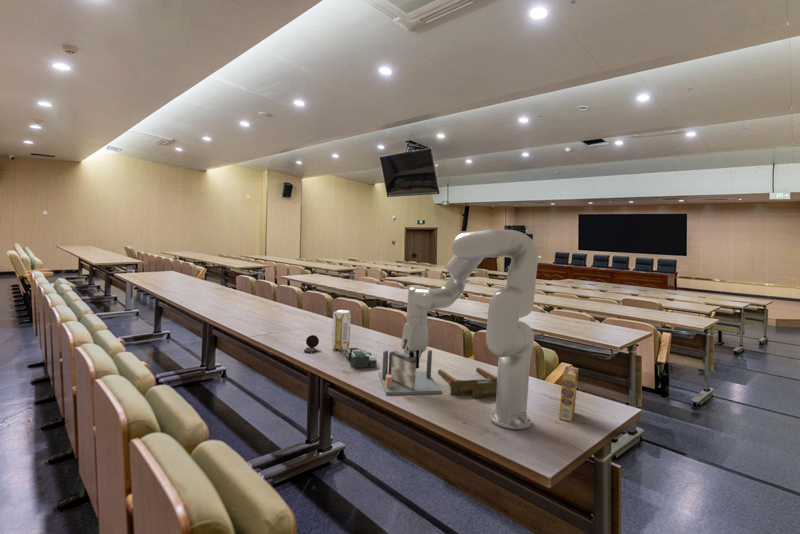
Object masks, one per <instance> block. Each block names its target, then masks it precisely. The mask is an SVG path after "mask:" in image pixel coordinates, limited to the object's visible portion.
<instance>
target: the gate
mask: <svg viewBox="0 0 800 534" xmlns="http://www.w3.org/2000/svg"><path fill="white" fill-rule="evenodd" d="M416 362H417V359H414V358H412V357H409V355H407V354H404V353H402V352H399V351H397V350H394V351H388V372H389V375H392V379H393V380H395V381H397V382H399V383H401V384H403V385H405V386H407V387H409V388H411V389H413V388H415V375H416V371H417V369H416Z"/></svg>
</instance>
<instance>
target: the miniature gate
mask: <svg viewBox="0 0 800 534" xmlns="http://www.w3.org/2000/svg"><path fill="white" fill-rule="evenodd" d="M475 369H476V370H475V371H476V373H477V372H478V373H477V374H479V375H480V376H482V377H483V378H481V379H479V378H478V379H466V380H462V379H456V378H454V377H453V376H452V375H450V374H448V373H447V372H445V371H444V370H443V369H438V370H437V374H438V375H439V376H440V377H441V379H443V380H445V382H448V386H450V395H451V396H457V395H468V394H469V395H470V394H472V399H473V398H474V399H478V398H479V399H481V398H493V397H494V398H496V388H497V375H494V374H492V373H490V372H489V371H486V370H484V369H482V368H481V367H476V368H475Z"/></svg>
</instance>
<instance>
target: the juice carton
mask: <svg viewBox="0 0 800 534" xmlns="http://www.w3.org/2000/svg"><path fill="white" fill-rule="evenodd" d="M332 315H333V316H332V332H331V333H332V336H331V337H332V338H331V339H332V340H331V345H332V346H331V347H332V350H333V349H338V350H337V351H341V350H345V349H346V348H347V349H348V348H349V347H350V342H351V341H350V340H351V320H352V319H351V311H350V310H346V309H338V310H336V311H333V314H332ZM347 349H346V350H347ZM346 350H345V351H346Z"/></svg>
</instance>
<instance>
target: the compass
mask: <svg viewBox="0 0 800 534" xmlns="http://www.w3.org/2000/svg"><path fill="white" fill-rule="evenodd" d="M305 340H306V341H305V342H306V343H305V344H306V345H307V347H306V348H304V350H303V352H305V353H306V352H308V353H307V354H312V353H311V352H315V353H317V352H319V351H322V350H321V349H317V348H316V347H317V346H318V345H319V342H320V340H319V337H318V336H316V335H314V334H311V335H309V336H307V338H306V339H305ZM316 351H317V352H316Z"/></svg>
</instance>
